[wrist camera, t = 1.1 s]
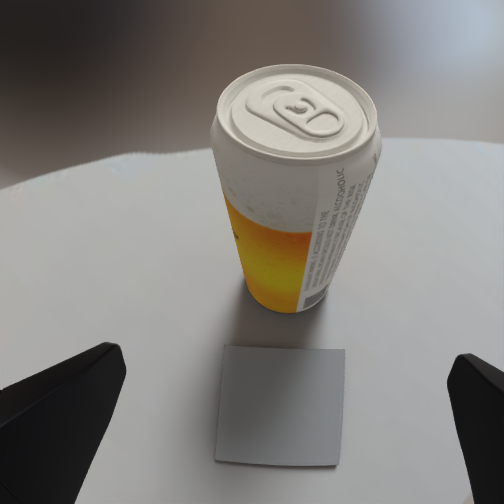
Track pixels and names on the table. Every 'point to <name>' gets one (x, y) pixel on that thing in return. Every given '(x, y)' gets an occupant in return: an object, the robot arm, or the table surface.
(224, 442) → the slate mat
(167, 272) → the table surface
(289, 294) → the beer can
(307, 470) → the table surface
